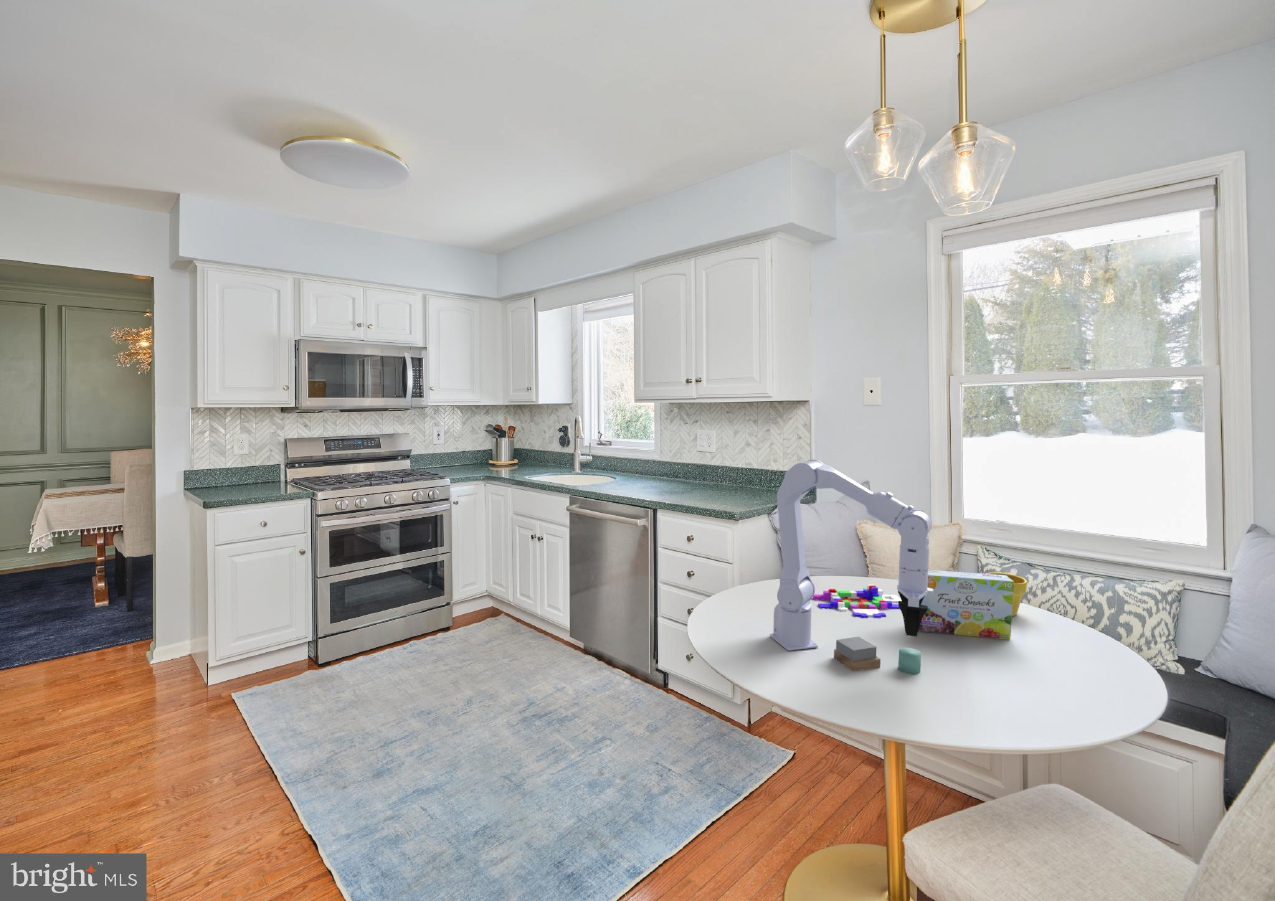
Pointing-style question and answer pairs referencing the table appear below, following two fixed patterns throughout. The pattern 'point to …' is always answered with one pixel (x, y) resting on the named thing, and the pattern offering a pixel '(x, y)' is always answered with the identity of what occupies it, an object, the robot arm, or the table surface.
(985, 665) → the table surface
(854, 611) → the building block set
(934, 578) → the snack box
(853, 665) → the walnut base block
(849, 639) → the grey top block
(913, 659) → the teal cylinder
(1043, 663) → the table surface
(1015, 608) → the plant pot
